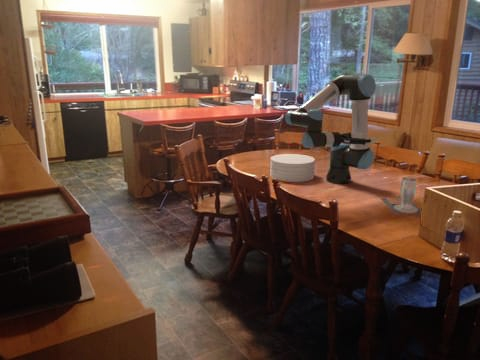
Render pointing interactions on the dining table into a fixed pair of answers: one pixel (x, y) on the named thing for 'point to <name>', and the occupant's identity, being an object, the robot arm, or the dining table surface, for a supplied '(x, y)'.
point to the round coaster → (397, 208)
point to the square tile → (393, 200)
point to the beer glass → (407, 192)
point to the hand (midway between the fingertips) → (368, 137)
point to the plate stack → (292, 167)
